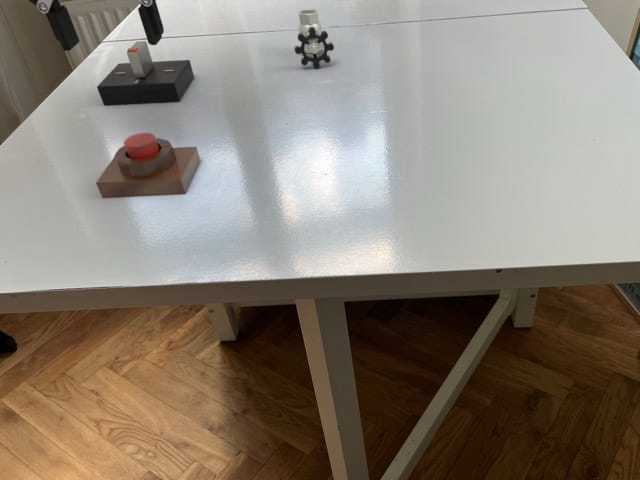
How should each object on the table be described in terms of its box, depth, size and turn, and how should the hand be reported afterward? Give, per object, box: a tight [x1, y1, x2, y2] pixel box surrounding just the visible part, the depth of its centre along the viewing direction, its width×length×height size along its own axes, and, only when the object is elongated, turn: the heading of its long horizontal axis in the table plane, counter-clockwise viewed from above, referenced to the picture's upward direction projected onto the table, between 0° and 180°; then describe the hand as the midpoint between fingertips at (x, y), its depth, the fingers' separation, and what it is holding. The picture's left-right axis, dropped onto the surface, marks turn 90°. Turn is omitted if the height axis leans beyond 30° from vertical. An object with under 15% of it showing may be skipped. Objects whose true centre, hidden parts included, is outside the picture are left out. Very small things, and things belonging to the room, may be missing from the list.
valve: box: [294, 8, 335, 70], centre depth 97 cm, size 7×7×12 cm
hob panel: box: [96, 59, 195, 106], centre depth 90 cm, size 12×10×3 cm
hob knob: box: [126, 40, 154, 78], centre depth 87 cm, size 5×2×4 cm, turn 2°
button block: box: [95, 137, 202, 199], centre depth 68 cm, size 10×8×4 cm
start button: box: [123, 132, 159, 159], centre depth 66 cm, size 4×4×2 cm
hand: (114, 44), depth 64 cm, fingers open, 9 cm apart
